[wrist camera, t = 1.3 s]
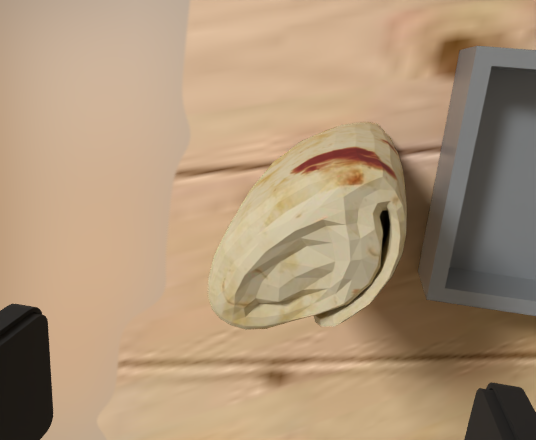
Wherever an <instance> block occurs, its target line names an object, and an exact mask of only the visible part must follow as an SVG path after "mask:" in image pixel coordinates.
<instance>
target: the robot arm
mask: <svg viewBox="0 0 536 440" xmlns="http://www.w3.org/2000/svg"><path fill="white" fill-rule="evenodd" d="M52 418H53V402H52V386H51V369H50V352H49V337H48V321H47V318H46V316H44V315H42V312H41V310H40V309H39V308H37V307H31V306H25V305H19V304H11V305H9V306H7V307H5V308H4V309H2V310H1V311H0V440H40V439H41V438H42V437H43V435H44V434H45V433H46V432H47V430H48V429H49V427H50V425H51V422H52ZM464 440H536V412H535V410H534V409H533V407H532V405H531V403H530V401H529V399H528V397H527V396H526V394H525V392H524V390H523V389H522V388H520V387H515V386H509V385H503V384H497V383H489V384H488V386H487V388H486V389H482V388H479V389H478V390H477V392H476V395H475V399H474V403H473V407H472V411H471V415H470V419H469V423H468V427H467V431H466V435H465V439H464Z"/></svg>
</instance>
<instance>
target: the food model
mask: <svg viewBox="0 0 536 440" xmlns="http://www.w3.org/2000/svg"><path fill="white" fill-rule="evenodd" d="M406 219H407V205H406V192H405V181H404V176H403V168H402V164H401V161H400V158H399V155H398V152H397V151H396V150H395V148H394V146H393V143H392V140H391V138H390V137H389V136H388V135H387V134H386V133H385V131H384V130H383V129H382V128H381V127H380V126H379V125H378V124H375V123H371V122H360V123H352V124H345V125H341V126H338V127H335V128H332V129H329V130H326V131H324V132H322V133H319V134H317V135H315V136H312V137H310V138H308V139H306V140H303V141H301V142H300V143H298V144H297V145H296V146H294V147H293V148H292V149H291V150H289V151H288V152H287V153H285V154H284V155H283V156H281V157H280V158H279V159H277V160H276V161H275V162H273V163H272V165H271V166H270V167H269V168H268V169H267V171H266V172H265V173H264V174H263V175H262V177H261V178H260V179H259V180H258V181H257V182H256V184H255V185H254V186H253V187H252V189H251V190H250V191H249V193H248V195H247V196H246V198H245V200H244V201H243V203H242V204H241V206H240V208H239V210H238V212H237V214H236V215H235V217H234V218H233V220H232V221H231V223H230V225H229V227H228V229H227V231H226V233H225V235H224V237H223V239H222V241H221V243H220V245H219V247H218V249H217V251H216V252H215V255H214V258H213V261H212V266H211V270H210V274H209V278H208V298H209V301H210V304H211V307H212V310H213V311H214V312H215V313H216V314H217V316H218V317H219V318H220V319H221V320H223V321H225V322H226V323H228V324H230V325H232V326H235V327H239V328H242V329H267V328H270V327H273V326H277V325H280V324H284V323H287V322H290V321H294V320H298V319H302V318H305V317H309V316H314V319H315V322H316V323H317V324H319V325H320V326H321V327H326V326H336V325H338V324H340V323H342V322H344V321H346V320H347V319H349V318H350V317H351V316H353V315H354V314H356V313H357V312H359V311H360V310H362V309H363V308H364V307H366V306H367V305H369V304H370V303H371V302H372V301H373V300H374V299H375V297H376V296H377V295H378V294H379V292H380V291H381V290H382V289H383V287H384V286H385V285H386V283H387V282H388V281H389V280H390V278H391V277H392V275H393V273H394V271H395V269H396V267H397V264H398V262H399V260H400V258H401V256H402V253H403V248H404V243H405V237H406Z"/></svg>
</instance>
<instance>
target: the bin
mask: <svg viewBox="0 0 536 440" xmlns="http://www.w3.org/2000/svg"><path fill="white" fill-rule="evenodd" d="M418 273H419V276H420V280H421V283H422V286H423V290H424V293H425V296H426V300H433V301H439V302H446V303H452V304H459V305H466V306H472V307H479V308H486V309H492V310H499V311H506V312H512V313H519V314H525V315H532V316H536V50H525V49H511V48H498V47H485V46H475V47H471V48H467V49H463V50H460V53H459V58H458V63H457V68H456V74H455V79H454V84H453V89H452V95H451V100H450V105H449V110H448V116H447V121H446V126H445V131H444V137H443V142H442V147H441V153H440V158H439V163H438V168H437V174H436V179H435V184H434V189H433V195H432V200H431V205H430V210H429V216H428V221H427V226H426V231H425V237H424V242H423V247H422V252H421V258H420V263H419V268H418Z"/></svg>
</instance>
